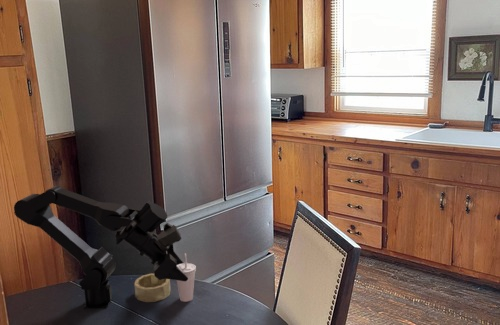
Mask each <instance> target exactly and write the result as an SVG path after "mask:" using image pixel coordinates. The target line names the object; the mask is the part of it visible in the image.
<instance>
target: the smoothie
mask: <svg viewBox="0 0 500 325" xmlns="http://www.w3.org/2000/svg"><path fill="white" fill-rule="evenodd" d="M187 257H188V256H187V253H185V252H184V262H183V263H182V264H178V265H177V267H178V268H179V269H180V270H181V271H182V272H183V273H184V274H185V275H186V276H187V277H188V280H187V281H186V282H185V281H179V280H175V281H176V286H177V289H178V296H179V300H180V301H181V302H184V303H186V302H190V301H192V300H193V299H194V290H195V289H194V286H195V278H196V277H195V276H196V275H195V274H196V271H197V266H196V265H195V264H193V263H190V262H188V261H187Z"/></svg>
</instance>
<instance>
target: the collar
mask: <svg viewBox="0 0 500 325" xmlns="http://www.w3.org/2000/svg"><path fill="white" fill-rule="evenodd" d="M170 295H171V279H161V280H159V279H158V278H156V277H155V275H154V273H147V274H144V275H141V276H139V277H138V278H136V279H135V281H134V297H135V298H136V299H137V301H140V302H143V303H144V302H145V303H154V302H158V301H163V300H164V299H166V298H167V297H169V296H170Z"/></svg>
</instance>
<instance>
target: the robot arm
mask: <svg viewBox="0 0 500 325" xmlns="http://www.w3.org/2000/svg"><path fill="white" fill-rule="evenodd" d="M52 204H53V205H56V206H59V207H63V208H65V209H68V210H71V211H73V212H75V213H78V214H81V215H83V216H85V217H90V218H91V219H93V220H95V222H96V223H97V224H98V225H99V226H101V227H103V228H105V229H107V230H108V231H111V232H116V233H115V234H114V237H115V244H116V245H117V246H118V245H120V243H122V241H124V242H125V243H127V244H129V245H130V246H131V247H132V248H134V249H135V250H136V251H138V254H139V256H141V257H143V256H144V257H146V258H147V259H148V260H150V263H151V264H152V265H153V272H154V273H153V274H154V275H155V277H156V278H158V279H159V280H161V279H170V280H174V281H176V280H179V281H185V282H186V281H187V280H188V277H187V276H186V275H185V274H184V273H183V272H182V271H181V270H180V269H179V268H178V267H177V265H178V264H182V263H184V261H183V260H182V259H181V258H180V256H179V255H178V254H177V253H176V251H175V250H174V244H175V243H178V242H180V241H181V240H182V235H181V233H180V231H179V229H178V228H177V226H176V225H175V224H171V223H169V222H166V223H165V224H164V225H163V226H162V227H163V230H162V231H161V232H160V233H159V234H157V233H155V231H156V229H158V227H159V226H160V225H161V224H163V223H164V222H165V221H166V220H167V219H168V213H167V212H166V210H165V209H164V207H162V206H161V205H159V204H157V203H154V202H152V201H151V200H148V201H147V202H146V203H144V205H143V206H142V208H141V209H135V208H130V207H128V206H127V205H124V204H123V203H122V204H121V203H117V202H102V201H98V200H96V199H93V198H90V197H88V196H85V195H82V194H80V193H76V192H74V191H70V190H68V189H65V188H64V187H62V186H59V185H54V186H52V187H50V188H47V190H45V191H43V192H42V193H40V194H39V193H31V194H29V195H27V196H25V197H23V198H21V199H19V200H18V201H16V202H15V204H14V206H13V213H14V216H15V217H16V218H18V219H19V220H21V221H22V222H24V223H25V224H26V225H30V226H33V227H37V228H39V229H41V230H42V231H43V232H44V233H45V234H46V235H47V236H49V237H50V238H51V239H52V240H54V241H55V242H56V243H57V245H59V246H61V247H62V249H64V251H66V252H68V254H70V255H71V256H72V257H73V258H74V259H75V260H77V262H79V265H80V267H81V270H82V272H83V274H84V275H85V277H83V279H81V280H80V281H79V285H80V288H81V290H84V298H85V300H84V301H85V304H84V306H83V308H84V309H85V310H86V309H103V308H108V307H109V304H110V303H111V302H112V299H113V292H112V291H113V290H112V284H110V281H109V278H110V277H111V274H113V272H114V271H115V270H116V260H115V259H114V257H113V256H114V255H113V254H111V253H109V252H108V251H107V250H106V249H105V248H104V247H103V246H101V247H99V249H96V248H93V247H91V246H90V244H87V242H85V241H84V239H82V238H81V237H80V236H79V235H78V234H76V233H75V232H74V231H73V230H72V229H70V227H68V226H67V225H66V224H65V223H64V222H62V221H61V220H60V219H59V218H58V217H57V216H56V215H55V214H54V212H53V210H52V208H51V205H52ZM123 227H124V228H123ZM122 228H123V229H122ZM120 229H122V230H120Z"/></svg>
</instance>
